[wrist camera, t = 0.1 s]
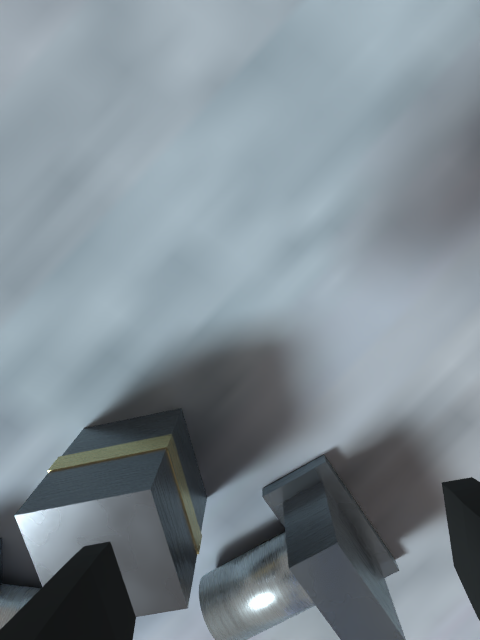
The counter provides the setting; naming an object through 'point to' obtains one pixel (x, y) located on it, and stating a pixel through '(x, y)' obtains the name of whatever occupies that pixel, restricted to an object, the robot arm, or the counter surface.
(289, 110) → the counter surface
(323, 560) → the shaft
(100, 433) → the block
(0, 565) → the shaft
